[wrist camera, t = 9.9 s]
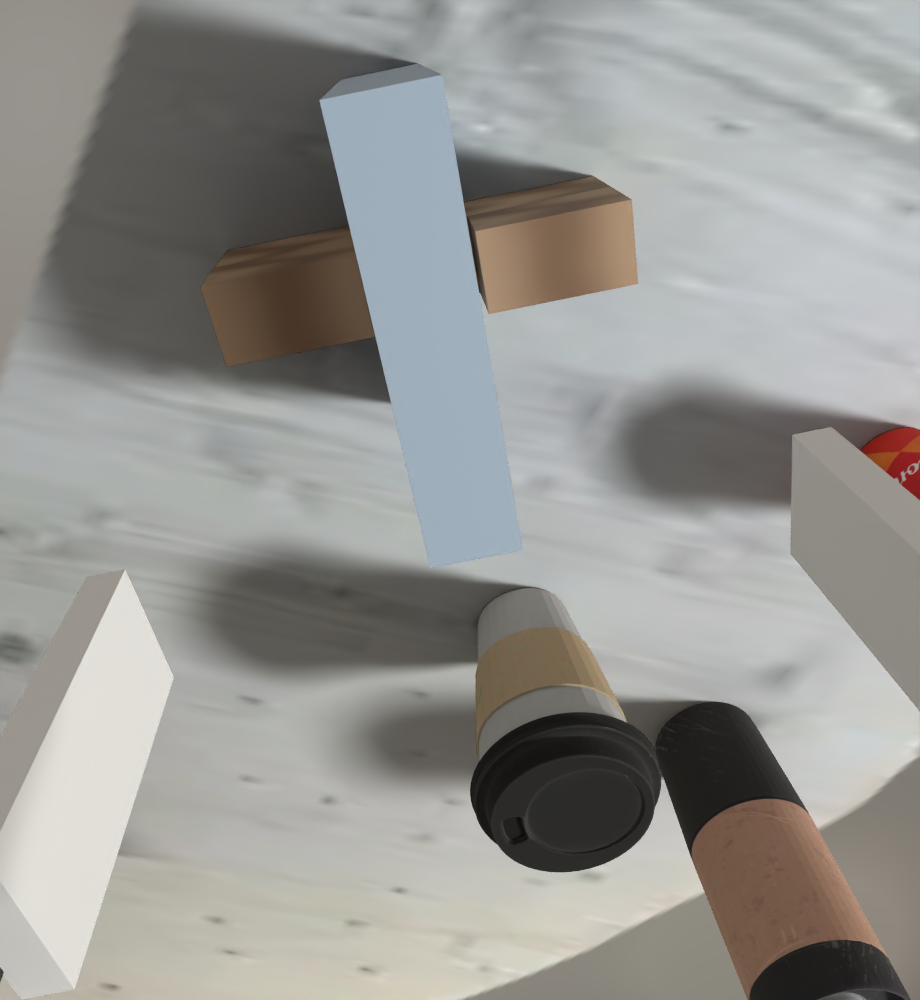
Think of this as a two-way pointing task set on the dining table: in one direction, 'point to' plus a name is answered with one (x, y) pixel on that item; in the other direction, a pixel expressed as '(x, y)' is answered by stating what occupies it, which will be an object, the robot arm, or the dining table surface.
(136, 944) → the dining table surface
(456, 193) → the light blue slab
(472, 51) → the dining table surface
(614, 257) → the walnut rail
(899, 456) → the paper cup
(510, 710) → the coffee cup
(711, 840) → the travel mug
